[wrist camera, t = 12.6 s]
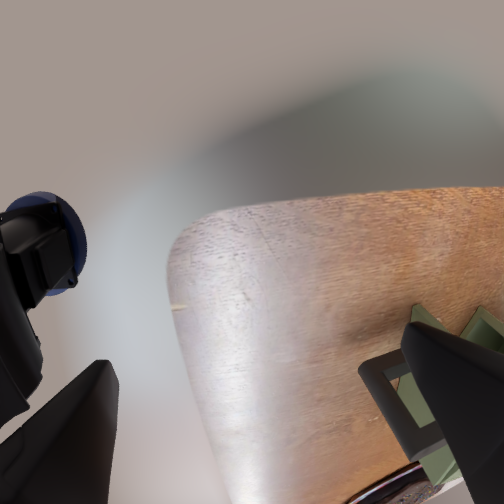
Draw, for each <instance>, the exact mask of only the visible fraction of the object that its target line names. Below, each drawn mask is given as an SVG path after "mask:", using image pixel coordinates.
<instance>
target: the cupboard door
mask: <svg viewBox="0 0 504 504" xmlns="http://www.w3.org/2000/svg"><path fill="white" fill-rule="evenodd" d="M414 321H420V322H423V323H425V324H428V325H430V326H433V327H435V328H438V329H440V330H443V331H445V332H448V333H450V332H449V331H448V330H447V329H446V328H445V327H444V326H443V325H442V324H441V323H440V322H439V321H438V320H437V319H435V318H434V317H433V316H432V315H431V314H430V313H429V312H428V311H427V310H426V309H425V308H424V307H422V306H421V305H420V304H417V305H415V306H413V309H412V316H411V322H414ZM358 373H359V375H360V376H361V378H362V380H363V382H364V383H365V385H366V387H367V388H368V390H369V392H370V393H371V395H372V397H373V399H374V400H375V402H376V404H377V405H378V407H379V409H380V411H381V412H382V414H383V416H384V417H385V419H386V421H387V423H388V424H389V426H390V428H391V430H392V431H393V433H394V435H395V437H396V438H397V440H398V442H399V444H400V445H401V447H402V449H403V451H404V453H405V454H406V456H407V458H408V460H409V461H410V462H415V461H417V460H419V462H420V464H421V465H422V467H423V469H424V471H425V472H426V474H427V476H428V478H429V479H430V481H431V483H432V485H433V486H435V485H437V484H439V483H440V482H441V481H442V479H443V478H444V477H445V476H446V474H447V473H448V472H449V471H450V469H451V468H452V467H453V466H454V464H455V463H456V461H455V459H454V457H453V455H452V452H451V450H450V448H449V446H448V444H447V442H446V440H445V438H444V436H443V434H442V432H441V430H440V428H439V426H438V425H437V423H436V421H435V419H434V417H433V415H432V413H431V411H430V409H429V407H428V406H427V404H426V402H425V400H424V398H423V396H422V395H421V393H420V391H419V389H418V387H417V385H416V383H415V381H414V378H413V376H412V373H411V371H410V369H409V366H408V364H407V362H406V360H405V357H404V355H403V353H402V350H401V348H400V349H397V350H394V351H392V352H389V353H386V354H383V355H381V356H378V357H375V358H372V359H369V360H367V361H365V362H363V363H362V364H361V365H360V366H359V368H358ZM398 377H400V382H399V386H398V390H397V392H396V391H395V389H394V388H393V386H392V385H391V383H390V382H389V381H391V380H393V379H396V378H398Z"/></svg>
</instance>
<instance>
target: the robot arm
mask: <svg viewBox="0 0 504 504" xmlns="http://www.w3.org/2000/svg"><path fill="white" fill-rule="evenodd" d="M53 206H55V207H56V209H57V211H54V209H53ZM1 218H2V220H3V221H1ZM74 264H75V259H74V255H73V251H72V247H71V242H70V238H69V233H68V230H67V229H66V227H65V222H64V216H63V211H62V206H61V204H60V203H59V202H58V201H53V202H48V203H43V204H38V205H33V206H28V207H23V208H19V209H14V210H10V211H6V212H2V213H0V429H1V427H2V426H3V425H4V424H5V423H7V422H8V421H9V420H11V419H12V418H13V417H15V416H17V415H19V414H21V413H23V412H25V411H27V410H29V408H30V405H29V404H28V402H27V401H26V400H27V399H28V398H29V397H30V396H31V395H32V394H33V392H34V391H35V390H36V389H37V387H38V386H39V384H40V382H41V380H42V377H43V376H42V374H41V369H42V363H43V357H42V353H41V350H40V344H41V343H40V341H39V339H38V336H36V335H35V333H34V330H33V328H32V326H31V323H30V321H29V318H28V316H27V312H28V311H29V310H30V309H31V308H35V307H36V306H37V305H38V304H39V303H40V301H41V300H42V299H43V298H44V297H45V295H46V294H47V293H48V292H49V291H50V290H53V289H66V288H74V287H75V286H76V285H77V284H78V277H77V273H76V270H75V266H74ZM70 279H72V280H73V282H74V283H72V282H71V281H70ZM401 350H402V353H403V355H404V357H405V360H406V362H407V364H408V366H409V369H410V371H411V373H412V376H413V378H414V381H415V383H416V385H417V387H418V389H419V391H420V393H421V395H422V396H423V398H424V400H425V402H426V404H427V406H428V407H429V409H430V411H431V413H432V415H433V417H434V419H435V421H436V423H437V425H438V426H439V428H440V430H441V432H442V434H443V436H444V438H445V440H446V442H447V444H448V446H449V448H450V450H451V452H452V455H453V457H454V459H455V461H456V463H457V465H458V467H459V469H460V471H461V474H462V476H463V478H464V480H465V482H466V485H467V487H468V490H469V492H470V494H471V497H472V499H473V501H474V504H504V354H501V353H499V352H496V351H494V350H491V349H489V348H486V347H483V346H481V345H478V344H476V343H473V342H471V341H468V340H466V339H463V338H461V337H458V336H456V335H453V334H451V333H448V332H445V331H443V330H440V329H438V328H435V327H433V326H430V325H428V324H425V323H423V322H420V321H414V322H410V323H408V324H407V325H406V326H405V329H404V333H403V337H402V341H401ZM118 396H119V382H118V378H117V376H116V374H115V371H114V369H113V366H112V364H111V362H110V361H109V360H96V361H94V362H93V363H92V364H91V365H89V366H88V367H87V368H86V369H85V370H84V371H83V372H81V373H80V374H79V375H78V376H77V377H76V378H75V379H74V380H72V381H71V382H70V383H69V384H68V385H67V386H65V387H64V388H63V389H62V390H61V391H60V392H59V393H58V394H56V395H55V396H54V397H53V398H52V399H51V400H50V401H48V403H46V404H45V405H44V406H43V407H42V408H41V409H39V410H38V411H37V412H36V413H35V414H34V415H33V416H32V417H31V418H29V419H28V420H27V421H26V422H25V423H24V424H23V425H22V427H19V428H18V429H17V430H16V431H15V432H14V433H13V434H12V435H10V436H9V437H8V438H7V439H6V440H5V441H3V442H2V443H1V444H0V504H108V494H109V484H110V475H111V467H112V459H113V452H114V445H115V439H116V431H117V413H118Z"/></svg>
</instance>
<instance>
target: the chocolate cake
mask: <svg viewBox="0 0 504 504" xmlns="http://www.w3.org/2000/svg"><path fill="white" fill-rule="evenodd" d="M444 484H445V483H444ZM444 484H441V485H440V484H437V485H435V486H433V485H432V483H431V481H430V479H429V478H428V476H427V474H426V472H425V471H424V469H423V467H422V465H421V464H420V463H416V464H410V465H409V466H407V467H405V468H404V469H402V470H401V471H399V472H397V473H396V474H394V475H392V476H390V477H389V478H387V479H385V480H383V481H382V482H380V483H378V484H376V485H374V486H372V487H370V488H369V489H367V490H365V491H363V492H361V493H359V494H357V495H355V496H353V497H352V498H351V500H350V502H349V503H346V504H420V503H421V502H423V501H425V500H426V499H428V498H429V497H431V496H433V495H434V494H436V493H437V492H438V491H440V490H441V488H442V487H443V486H444Z"/></svg>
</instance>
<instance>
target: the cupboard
mask: <svg viewBox="0 0 504 504" xmlns="http://www.w3.org/2000/svg"><path fill="white" fill-rule="evenodd" d="M459 337H461V338H463V339H466V340H468V341H471V342H473V343H476V344H478V345H481V346H483V347H486V348H489V349H491V350H494V351H496V352H499V353H501V354H504V323H503V322H501V321H500V320H499V319H497V318H496V317H495V316H493V315H492V314H491V313H490V312H488V311H487V310H486V309H484V308H483V307H482V306H479V307H478V309H477V311H476V312H475V314H474V315H473V317H472V318H471V320H470V322H469V323H468V325H467V326H466V328H465V329H464V330H463V332H462V333H461V335H460V336H459ZM460 477H463V476H462V474H461V471H460V469H459V467H458V465H457V463H455V464H454V466H453V467H452V468H451V469H450V471H449V472H448V473H447V474H446V476H445V477H444V478H443V479H442V481H441V482H440V483H439V484H440V485H441V484H444V483H446V482H449V481H452V480H455V479H457V478H460Z"/></svg>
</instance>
